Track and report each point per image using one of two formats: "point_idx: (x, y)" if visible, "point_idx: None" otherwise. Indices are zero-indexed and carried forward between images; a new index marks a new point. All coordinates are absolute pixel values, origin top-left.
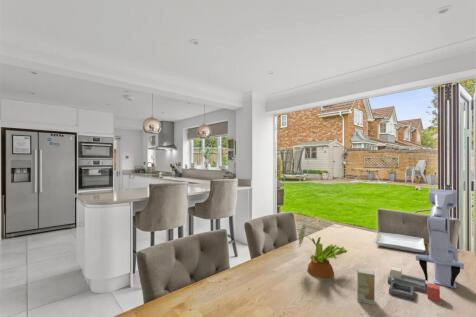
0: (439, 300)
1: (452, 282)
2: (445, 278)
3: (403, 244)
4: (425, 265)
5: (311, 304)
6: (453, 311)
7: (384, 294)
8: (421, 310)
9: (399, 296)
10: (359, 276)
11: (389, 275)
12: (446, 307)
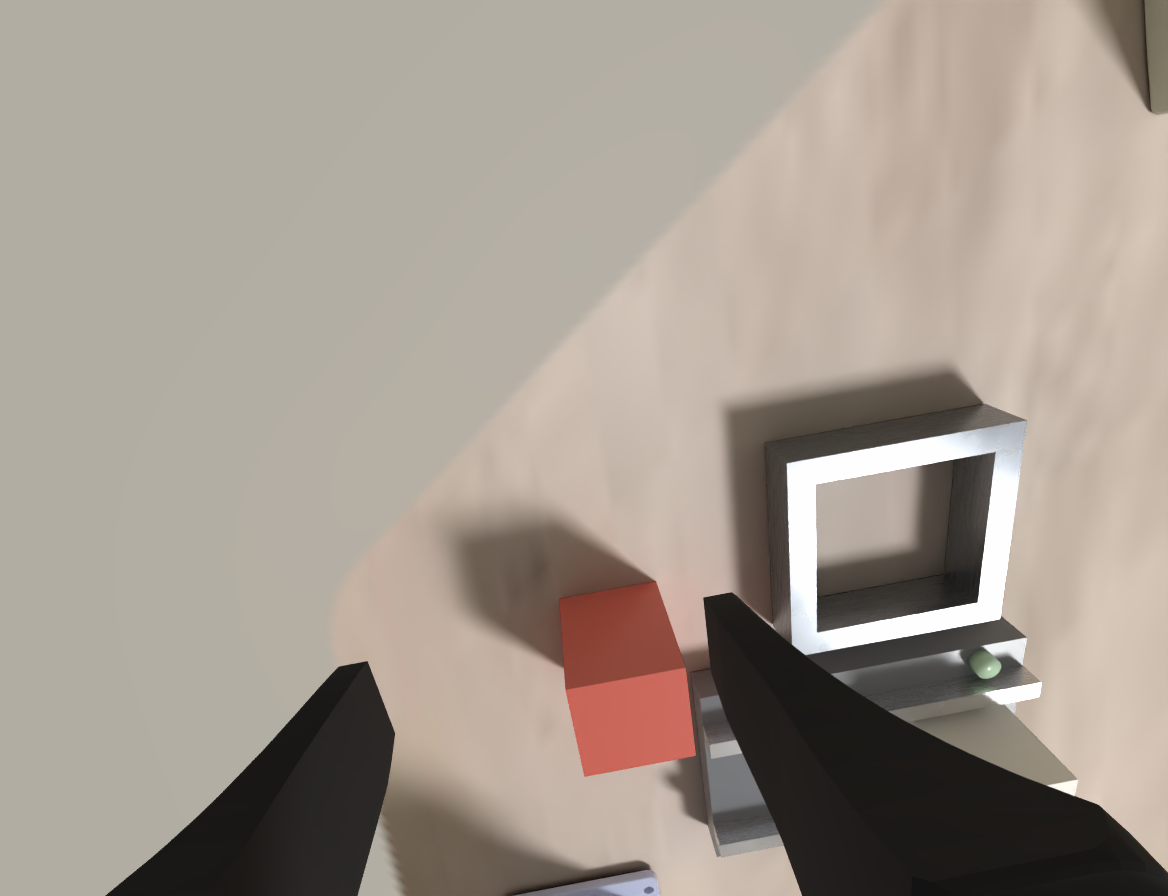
0: (563, 606)
1: (311, 718)
2: None
3: None
4: (951, 864)
5: None
6: (431, 506)
7: (1025, 350)
8: (667, 285)
9: (885, 421)
10: None
11: None
12: (494, 536)
